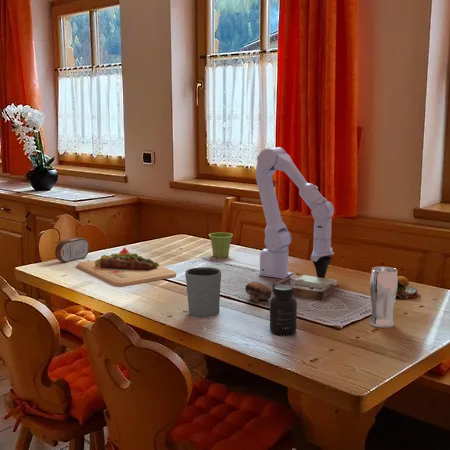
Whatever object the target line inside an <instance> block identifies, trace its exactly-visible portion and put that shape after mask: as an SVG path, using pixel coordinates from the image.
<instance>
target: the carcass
mask: <svg viewBox="0 0 450 450" xmlns="http://www.w3.org/2000/svg"><path fill="white" fill-rule="evenodd" d="M290 281H291V277H289V276H287V277H285V278H283V279H282V278H281V279H280V280H279V281H276V282H275V283H273V284H272V293H274V287H275V286H276V285H290V286H292V285H291V282H290ZM292 287H293V295H292V296H293V297H302V298H308V299H313V300H321V301H323V300H324V299H326V298H327V297H328V296H330V295H331V294H333V293H334V292H335V286H334V284H329V285H328V286H326V287H324V288H323V289H322V288H320V290H319V289H314V287H312V286H309V288H307V287H299V286H292Z"/></svg>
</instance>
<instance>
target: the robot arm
mask: <svg viewBox="0 0 450 450" xmlns="http://www.w3.org/2000/svg"><path fill="white" fill-rule="evenodd" d="M256 159H257V164H256V167H255V173H254V176H255V177H254V178H255V180H256V184H257V185H256V186H257V189H258V194H259V198H260V201H261V205H262V209H263V215H264V218H265V223H266V225H265V228H264V235H265V237H264V246H265V248H263V249H262V250H261V252H260V254H259V255H260V256H259V273H258V276H263V277H269V278H277V279H281V280H282V279H284V278H286V277H289V276H291V275H292V274H293V272H291V271H289V246H290V244H291V243H292V238H293V237H292V234H291V232H290V231H289V230H288V228H287V225H286V223H285V222H284V221H283V219H282V215H281V211H280V208H279V203H278V199H277V194H276V189H275V185H274V181H273V175H274V174H275V172H276V171H277V170H278V171H281V172H284V173H285V174H286V175H287V177H289V178H290V180H291V181H292V182H293V183H294V185H295V186H296V187H297V188H298V189H299V192H298V194H299V196H300V197H301V198H302V200H303V201H304V203H305V204H306V205H307V206H308V207H309V209H310V210H311V211H310V212H311V213H310V214H311V216H312V218H313V220H314V222H313V246H312V249H313V250H312V253H311V255H310V262H312V263H313V265H314V268H315V272H316V277H320V278H326V275H327V271H328V268H329V267H328V266H329V264H330V262H331V261H332V256H333V255H334V254H335V252H334V251H333V247H332V228H333V227H332V219H333V218H332V217H333V216H334V214H335V207H334V205H333V203H332V202H331V201H329V200H327V198H326V197H324V196H323V194H321V192H320V191H319V190H318V189H319V187H318V186H317V185H314V183H309V182H308V181H307V180H306V179H305V177H304V176H303V174H302V173H301V172H300V170H299V169H298V167H297V165H296V164H295V163H294V162H293V159H292V158H291V156H290V154H288V153H287V152H286V150H285V149H284V148H282V147H280V146H277V147H271V148H269V147H266V148H264V149H261V151H260V152H259V154H258V155H257V157H256Z"/></svg>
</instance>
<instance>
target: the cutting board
mask: <svg viewBox="0 0 450 450" xmlns="http://www.w3.org/2000/svg"><path fill="white" fill-rule="evenodd" d="M76 267H77V269H80V270H82V271H84V272H86V273H88V274H90V275H93V277H96V278H98V279H101V280H102V281H105V282H106V283H109V284H110V285H112V286H116V287H117V286H118V287H126V286H132V285H133V286H134V285H138V284H143V283H150V282H155V281H160V280H166V279H165V278H167V279H171V278H170V277H173V278H176V277H177V271H175V270H172V269H170V268H167V267H164V266H162V265H160V263H158V262H157V261H156V262H155V261H153V260H152V258H144V257H143V256H142V255H138V253H134V252H133V253H132V252H130V251H129V250H128V249H127V248H126V247H123V248H122V250H120V252H119V253H111V254H110V255H106V254H103V255H101V256H100V258H99V259H95V260H87V261H86V260H85V261H81V262H78V263H77V264H76ZM175 276H176V277H175Z"/></svg>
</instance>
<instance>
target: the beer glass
mask: <svg viewBox="0 0 450 450" xmlns="http://www.w3.org/2000/svg"><path fill="white" fill-rule="evenodd" d="M397 277H398V269H397V268H394V267H390V266H374V267H372V268H371V272H370V280H369V281H370V282H369V294H370V301H371V316H370V320H369V324H370V325H371V326H372V327H374V328H375V327H376V328H380V329H390V328H393V327H394V325H395V324H394V315H393V313H394V307H395V306H394V305H395V302H396V299H397V298H396V297H397V296H396V293H397V283H398V279H397Z"/></svg>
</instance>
